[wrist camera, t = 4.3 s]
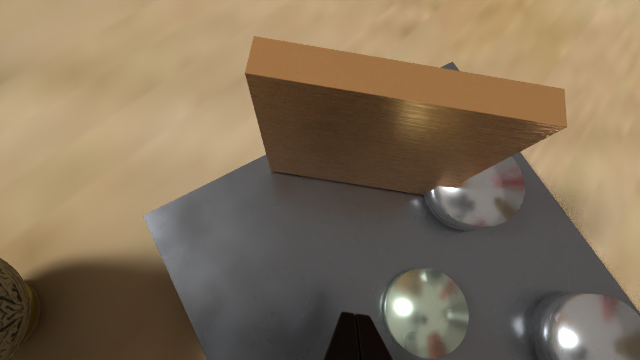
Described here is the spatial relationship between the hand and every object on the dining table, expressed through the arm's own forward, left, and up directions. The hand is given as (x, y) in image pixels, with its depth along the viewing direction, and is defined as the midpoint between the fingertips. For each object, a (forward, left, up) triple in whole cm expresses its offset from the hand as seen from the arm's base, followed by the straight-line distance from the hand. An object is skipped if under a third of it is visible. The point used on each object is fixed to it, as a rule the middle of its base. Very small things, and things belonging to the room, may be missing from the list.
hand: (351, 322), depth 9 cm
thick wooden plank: (+4, -6, -7) cm, 10 cm away
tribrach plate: (-2, -4, -9) cm, 10 cm away
